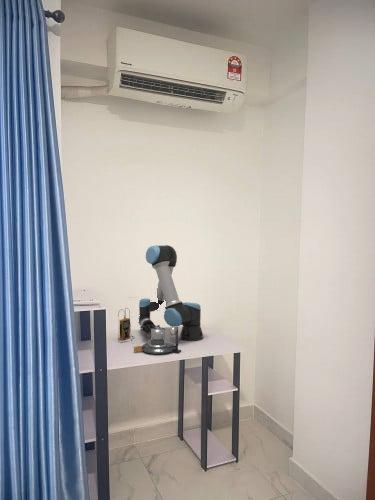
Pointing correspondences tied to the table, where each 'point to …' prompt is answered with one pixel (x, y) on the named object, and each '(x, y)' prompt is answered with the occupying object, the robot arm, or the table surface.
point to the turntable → (147, 349)
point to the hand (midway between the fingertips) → (155, 334)
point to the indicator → (175, 332)
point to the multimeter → (125, 328)
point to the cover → (157, 338)
